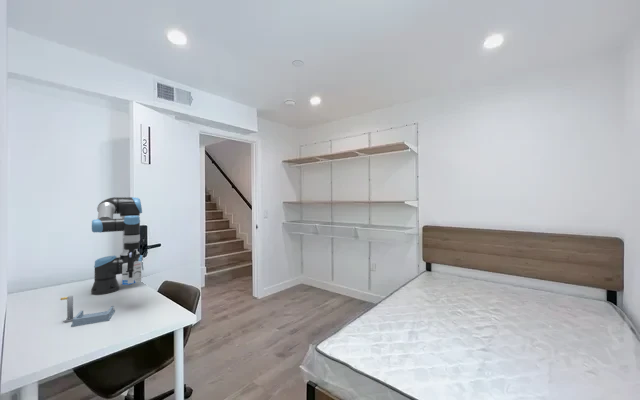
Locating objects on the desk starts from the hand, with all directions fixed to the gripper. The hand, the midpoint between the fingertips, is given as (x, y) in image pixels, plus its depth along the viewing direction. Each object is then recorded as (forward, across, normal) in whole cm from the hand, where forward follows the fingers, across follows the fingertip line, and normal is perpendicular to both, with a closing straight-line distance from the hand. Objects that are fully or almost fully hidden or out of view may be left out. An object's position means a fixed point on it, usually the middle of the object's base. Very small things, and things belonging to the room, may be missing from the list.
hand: (132, 280), depth 154 cm
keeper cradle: (+15, +8, -19) cm, 25 cm away
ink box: (+1, 0, 0) cm, 1 cm away
